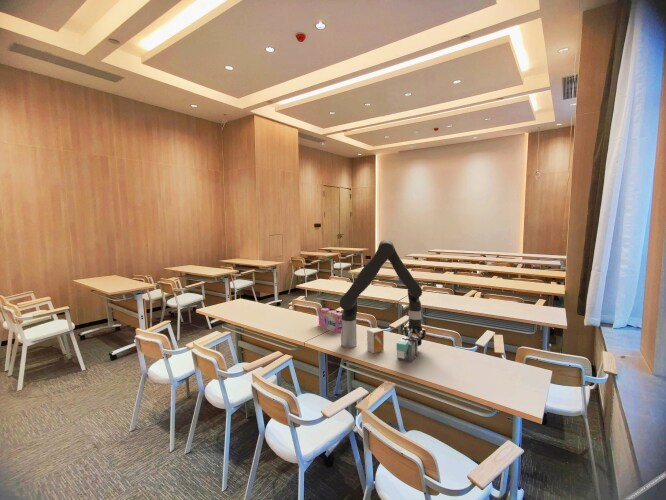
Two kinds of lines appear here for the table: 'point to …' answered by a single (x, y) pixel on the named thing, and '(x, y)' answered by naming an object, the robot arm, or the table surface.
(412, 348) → the bearing blocks
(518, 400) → the table surface
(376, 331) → the small box
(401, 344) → the block
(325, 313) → the gum box
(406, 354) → the shaft
